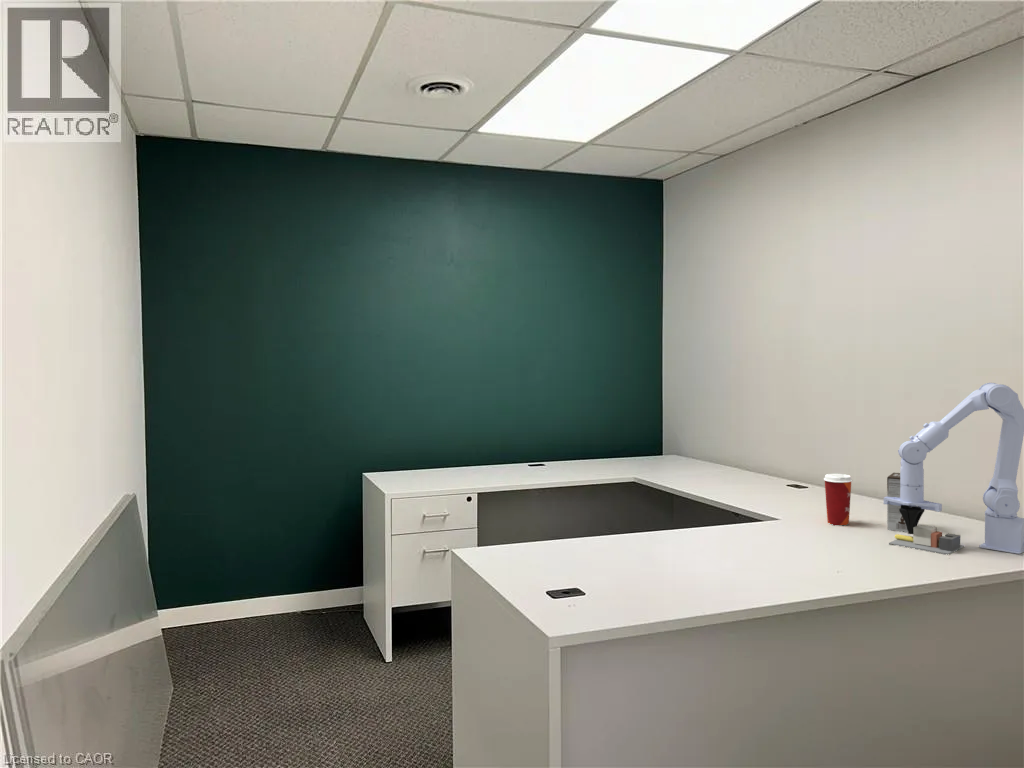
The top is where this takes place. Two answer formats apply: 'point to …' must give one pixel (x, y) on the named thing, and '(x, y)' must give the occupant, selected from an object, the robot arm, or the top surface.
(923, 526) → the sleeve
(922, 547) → the mat
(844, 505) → the coffee cup
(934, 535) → the orange thin flat block
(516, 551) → the top surface
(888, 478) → the coffee box
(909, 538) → the yellow thin rod
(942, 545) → the dark grey hollow block
